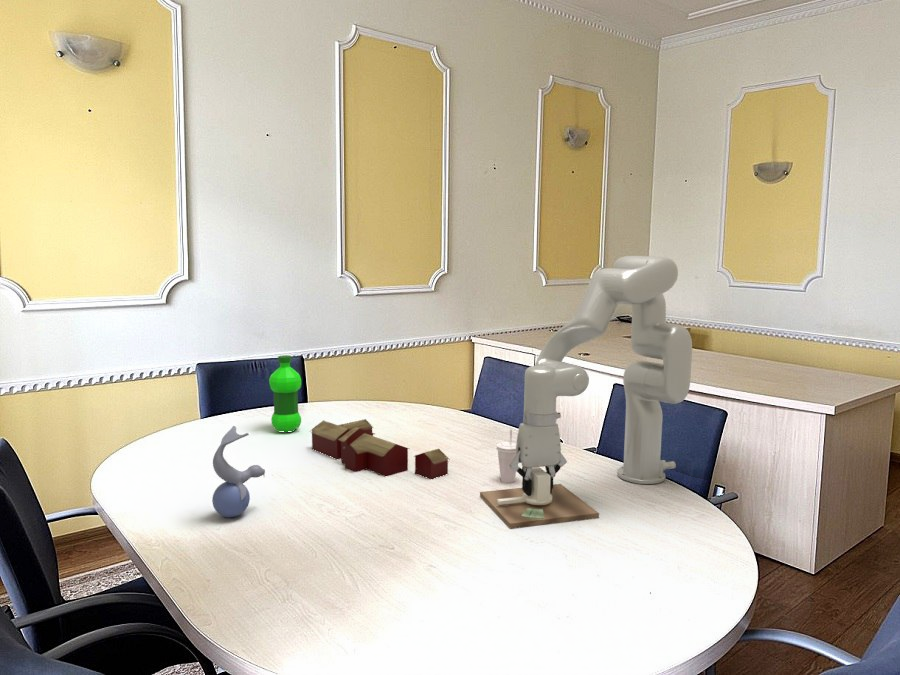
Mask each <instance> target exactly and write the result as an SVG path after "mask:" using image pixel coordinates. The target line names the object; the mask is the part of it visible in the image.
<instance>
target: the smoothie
mask: <svg viewBox="0 0 900 675" xmlns="http://www.w3.org/2000/svg"><path fill="white" fill-rule="evenodd" d="M512 440H513V429H511V428H510V429H509V441H507V442H506V441H502V442H498V443H497V444H496V450H497V457H498V465H499V466H498V467H499V475H500V476H499V477H500V482H502V483H504V482H505V483H506V484H511V483H514V482H515V481H516V475H517V472H516V471H515V470H514V469H512V468H511V467H510V466H509V465H510V463H511V461H512V460H513V459H514V457H515V453H516V442H513V441H512ZM505 483H504V484H505Z"/></svg>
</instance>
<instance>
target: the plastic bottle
mask: <svg viewBox="0 0 900 675" xmlns="http://www.w3.org/2000/svg"><path fill="white" fill-rule="evenodd" d="M277 362H278V364H279V367H278V368H276V369H275V371H273V372H272V374H271V375H270V376H269V379H268V383H269V387H270V390H271V391H272V392H273V413H272V415H271V425H272V427H273V428H274V429H275V430H276V431H277V430H278V431H277V432H279V431H284V432H288V431H293V430H295V429H296V430H297V429H298V428H299V427H300V426H301V423H302V416H301V414H300V412H299V395H298V393H299V392H298V391H299V390H301V388H302V378H301V375H300V374H299V372H297V371H296V370H295V369H294V368H293V367H291V363H292V356H291V355H278V356H277ZM296 430H295V431H296Z"/></svg>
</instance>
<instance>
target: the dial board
mask: <svg viewBox="0 0 900 675" xmlns="http://www.w3.org/2000/svg"><path fill="white" fill-rule="evenodd" d="M523 493H524V491H523V490H522V487H517V488H516V487H514V488H505V489H496V490H487V491H485V490H484V491H479V497H480V498H481V500H483V501H484V503H485V504H486V505H487V506H488V507H489V508H490V509H491V510H492V512H493V513H495V514H496V515H497V517H498V518H500V520H501V521H502V522H504V524H505V525H506V526H507V527H508V528H509V529H510V530H511V529H519V527H520V528H526V527H534V526H543V525H551V524H559V523H560V522H561V523H567V522H575V521H576V520H577V521H582V520H583V521H585V519H586V520H593V519H598V518H600V512H598V511H597V510H596V509H594V508H593V507H592V506H591V505H589V504H588V503H587V502H585V501H584V500H583V499H581V498H580V497H579V496H577V495H576V494H575V493H574V492H572V491H571V490H570V489H568V487H566V486H565V485H563V484H562V483H553V489H552V493H551V495H552V502H551V503H550V504H547V505H532V504H528V503H526V502H519V503H510V504H501V505H499V504H498V503H497V499H504V498H514V497H523ZM592 518H593V519H592ZM561 523H560V524H561Z"/></svg>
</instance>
